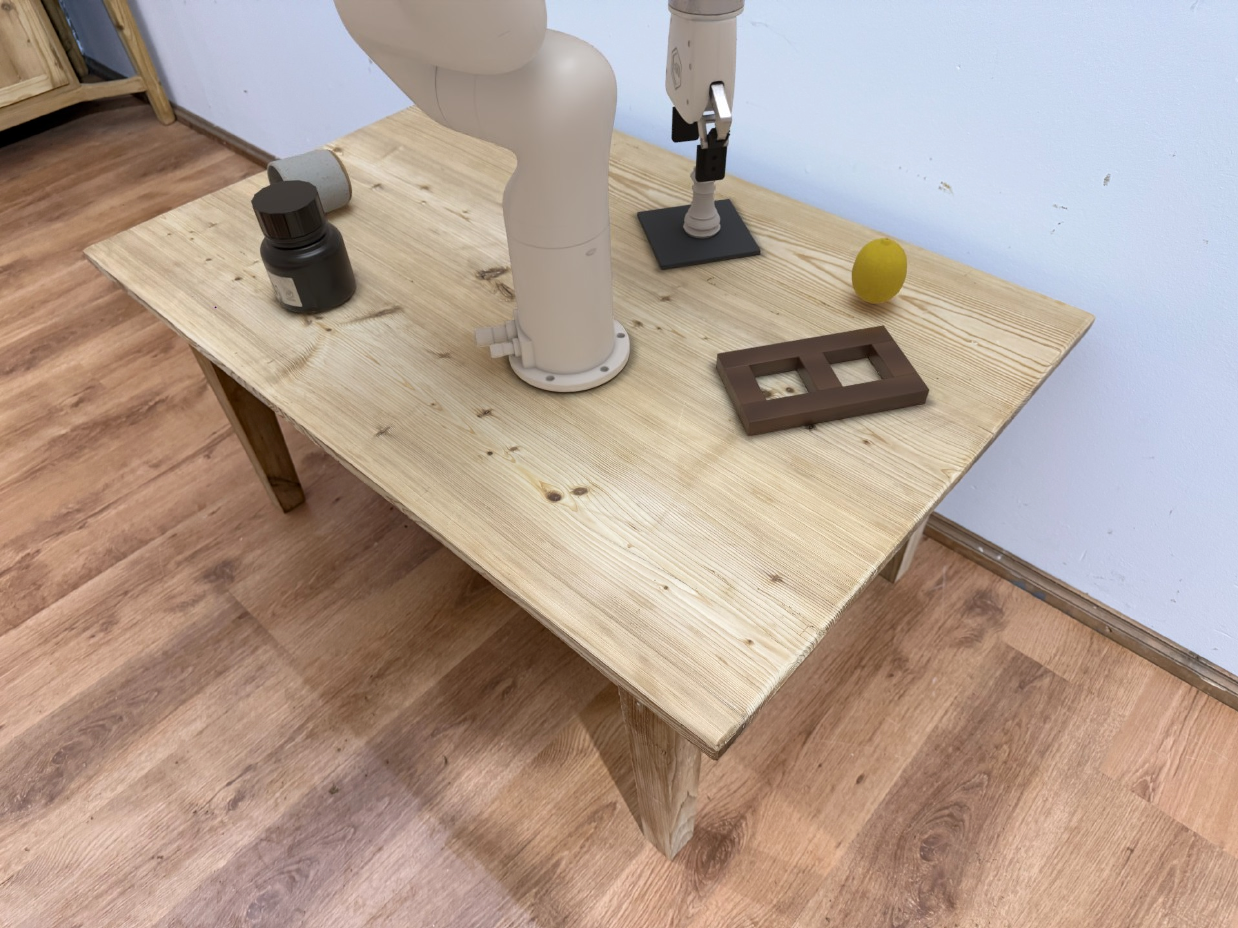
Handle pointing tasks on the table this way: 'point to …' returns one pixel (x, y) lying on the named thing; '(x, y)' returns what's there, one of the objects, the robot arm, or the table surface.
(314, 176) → the ceramic mug
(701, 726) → the table surface
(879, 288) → the lemon
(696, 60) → the robot arm
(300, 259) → the ink bottle
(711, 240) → the mat
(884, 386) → the frame
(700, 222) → the rook chess piece
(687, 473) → the table surface
